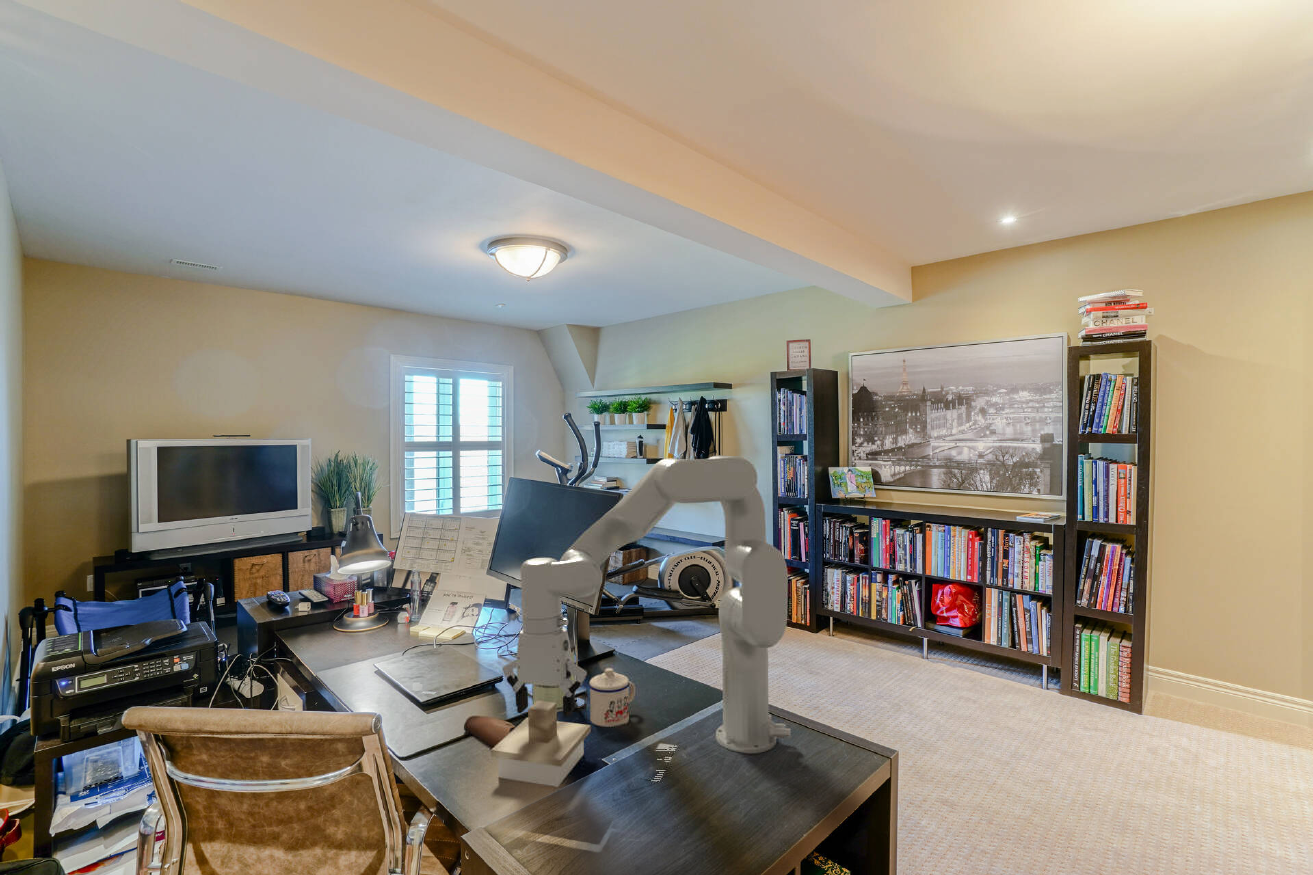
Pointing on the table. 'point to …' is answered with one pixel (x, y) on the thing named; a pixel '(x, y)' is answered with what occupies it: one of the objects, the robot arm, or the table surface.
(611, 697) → the teacup with lid
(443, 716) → the table surface
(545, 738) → the lid
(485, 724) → the sunglasses case
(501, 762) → the dish
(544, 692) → the coffee can
